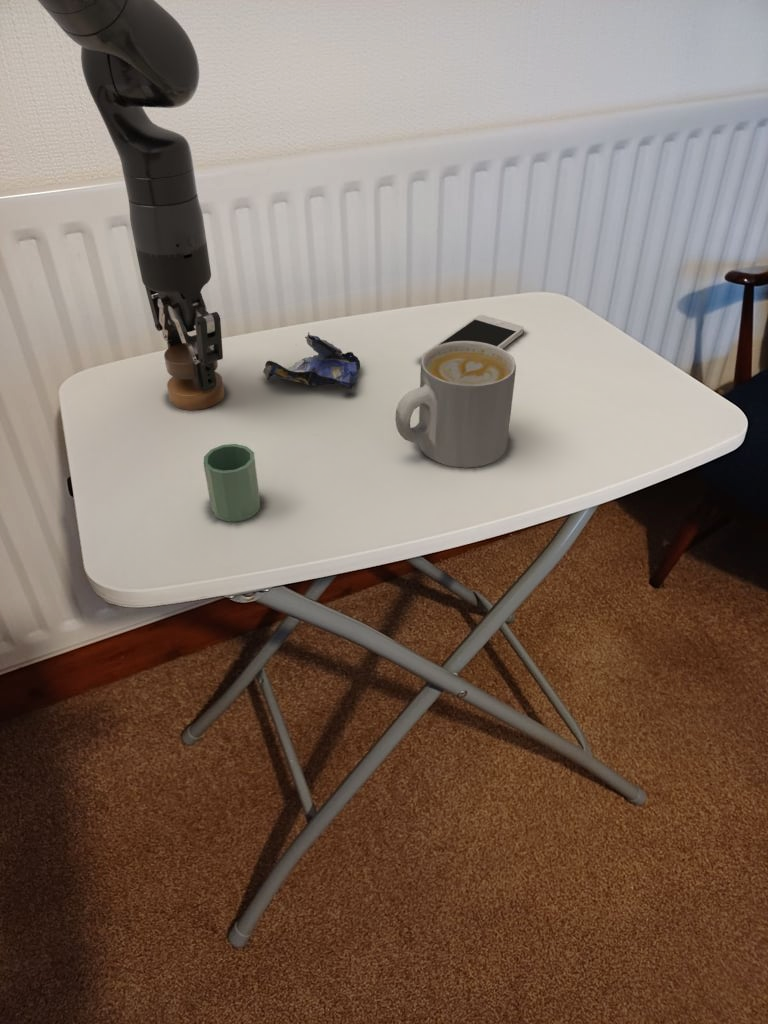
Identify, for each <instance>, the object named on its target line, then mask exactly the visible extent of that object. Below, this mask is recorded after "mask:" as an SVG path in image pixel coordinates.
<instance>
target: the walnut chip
mask: <svg viewBox="0 0 768 1024" xmlns="http://www.w3.org/2000/svg"><path fill="white" fill-rule="evenodd" d="M195 345H196V348H197V351H198V347H197V342H196V343H195ZM213 348H214V347H213ZM163 354H164V355H163V357H164V361H165V367H166V372H167V373H168V374H169V376H170V377H175V378H179V379H196V378H195V372H194V367H193V360H192V357H191V354H190V351H189V348H188V346H187V345H184V344H183V343H179V344H176V345H173V346H171V347H170V348H168V347H167V349H166V350H165V351H164V353H163ZM218 362H219V361H218V360H217V361H214V362H213V364H214V371H215V372H216V370H217V369H218V366H219V363H218Z"/></svg>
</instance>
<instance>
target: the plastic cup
mask: <svg viewBox="0 0 768 1024" xmlns="http://www.w3.org/2000/svg"><path fill="white" fill-rule="evenodd" d="M203 470H204V474H205V480H206V485H207V491H208V497H209V503H210V509H211V510H212V511H211V512H212V513H213V515H214V516H215V517H216V518H217V519H219V520H221V521H223V522H229V523H230V522H231V523H235V522H243V521H246V520H249V519H251V518H252V517H254V516H255V515H256V514H257V513H258V512H259V511H260V508H261V497H260V496H261V495H260V489H259V482H258V471H257V466H256V457H255V452H254V451H253V450H252V449H251V448H249V447H248V446H246V445H243V444H238V443H230V444H221V445H218V446H217V447H216V446H215V447H214V448H211V449H210V450H208V452H207V453H206V454H205V455H203Z"/></svg>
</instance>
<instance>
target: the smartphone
mask: <svg viewBox="0 0 768 1024" xmlns="http://www.w3.org/2000/svg"><path fill="white" fill-rule="evenodd" d="M524 327H525V326H523V325H520V324H516V323H512V322H509V321H507V320H506V321H505V320H502V319H499V318H495V317H492V316H488V315H485V314H479V315H477V316H476V317H474V318H473V319H471V320H470V321H468V322H467V323H466V324H464V325H463V326H461V327H460V328H459V329H457V330H455V331H454V332H453V333H451V334H450V335H448V336H446V337H445V338H444V339H443V340H441V341H440V342H438V343H437V344H436V345H434V346H433V347H435V346H437V345H440V344H444V343H448V342H455V341H475V342H482V343H487V344H490V345H494V346H496V347H499V348H501V349H503V350H504V349H505V348H506V347H507V346H508V345H510V344H511V343H512V342H514V341H515V339H517V338H518V337H520V336H521V335H522V334H523V333H524ZM425 353H426V352H424V353H423V354H422V356H423V355H424V354H425Z"/></svg>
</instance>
